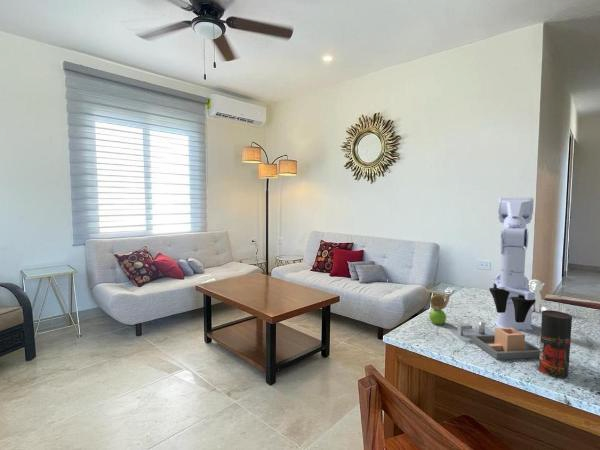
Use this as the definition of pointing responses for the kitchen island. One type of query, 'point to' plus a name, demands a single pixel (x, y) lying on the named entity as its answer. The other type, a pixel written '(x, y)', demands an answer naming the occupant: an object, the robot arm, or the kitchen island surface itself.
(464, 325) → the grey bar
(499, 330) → the orange hollow square box
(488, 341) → the tray
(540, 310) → the white creature statuette
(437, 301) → the green base glass goblet
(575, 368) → the kitchen island surface
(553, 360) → the deodorant
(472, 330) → the slate board
